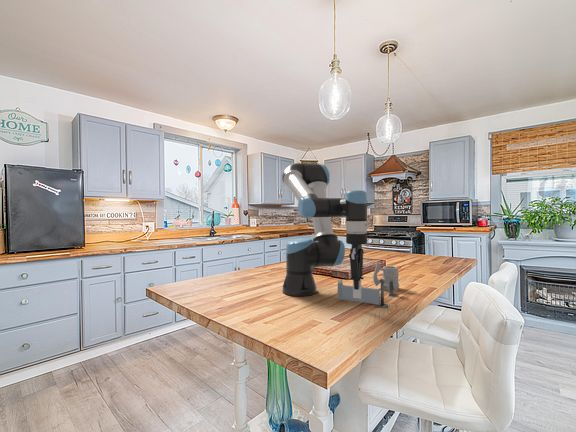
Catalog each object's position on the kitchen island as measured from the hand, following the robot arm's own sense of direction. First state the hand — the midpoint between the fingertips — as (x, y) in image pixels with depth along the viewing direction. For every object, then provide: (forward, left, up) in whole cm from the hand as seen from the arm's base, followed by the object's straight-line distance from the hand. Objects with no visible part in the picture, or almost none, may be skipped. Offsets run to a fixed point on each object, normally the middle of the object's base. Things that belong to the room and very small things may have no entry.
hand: (357, 297), depth 101 cm
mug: (+6, +33, -4) cm, 34 cm away
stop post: (+9, +23, -4) cm, 25 cm away
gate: (-1, +7, -4) cm, 8 cm away
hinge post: (+8, +7, -4) cm, 11 cm away
